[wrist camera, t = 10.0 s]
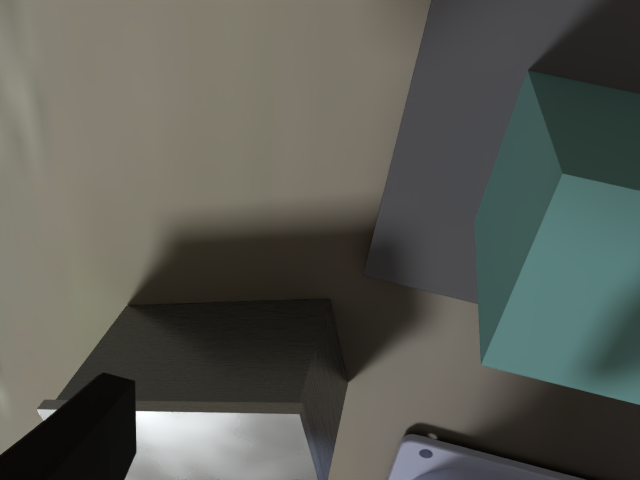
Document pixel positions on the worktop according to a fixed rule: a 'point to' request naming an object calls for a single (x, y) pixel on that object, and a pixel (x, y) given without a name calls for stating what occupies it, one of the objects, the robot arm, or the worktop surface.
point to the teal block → (564, 240)
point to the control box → (226, 388)
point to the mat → (481, 121)
